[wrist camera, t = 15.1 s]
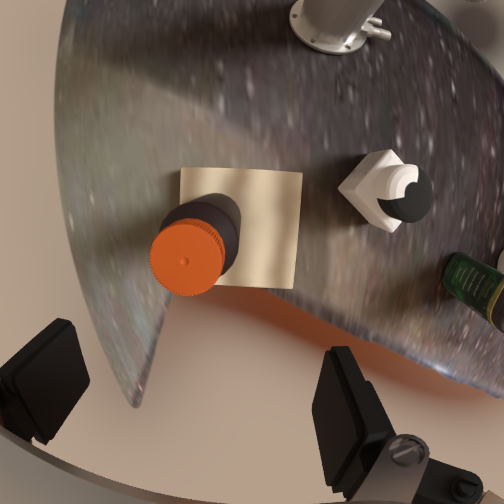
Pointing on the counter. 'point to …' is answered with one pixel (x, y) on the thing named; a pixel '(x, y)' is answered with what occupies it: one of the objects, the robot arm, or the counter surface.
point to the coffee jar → (477, 287)
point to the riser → (255, 220)
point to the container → (388, 190)
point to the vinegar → (196, 244)
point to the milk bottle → (501, 262)
